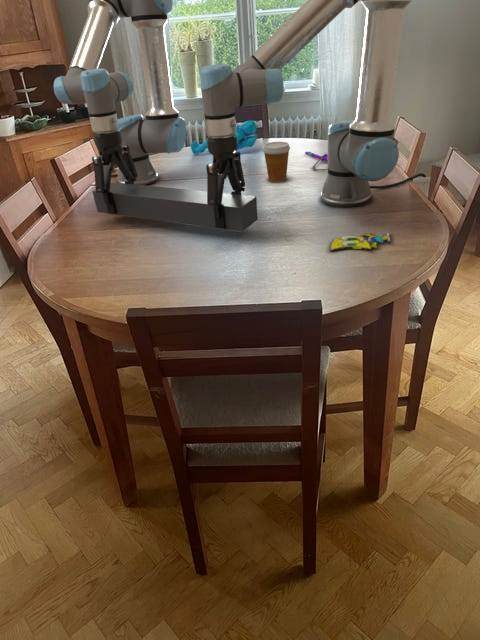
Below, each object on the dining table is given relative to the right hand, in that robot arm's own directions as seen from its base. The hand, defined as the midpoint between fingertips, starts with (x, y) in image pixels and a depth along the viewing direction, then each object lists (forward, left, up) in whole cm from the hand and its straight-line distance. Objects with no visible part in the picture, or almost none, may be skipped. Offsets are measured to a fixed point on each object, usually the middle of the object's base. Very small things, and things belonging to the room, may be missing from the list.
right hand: (229, 221), depth 131 cm
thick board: (+6, -18, 0) cm, 19 cm away
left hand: (+12, -36, 0) cm, 38 cm away
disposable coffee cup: (-44, -23, -4) cm, 50 cm away
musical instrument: (-69, -22, -4) cm, 72 cm away
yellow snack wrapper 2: (-16, +31, -4) cm, 35 cm away
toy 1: (-61, -70, -4) cm, 93 cm away
